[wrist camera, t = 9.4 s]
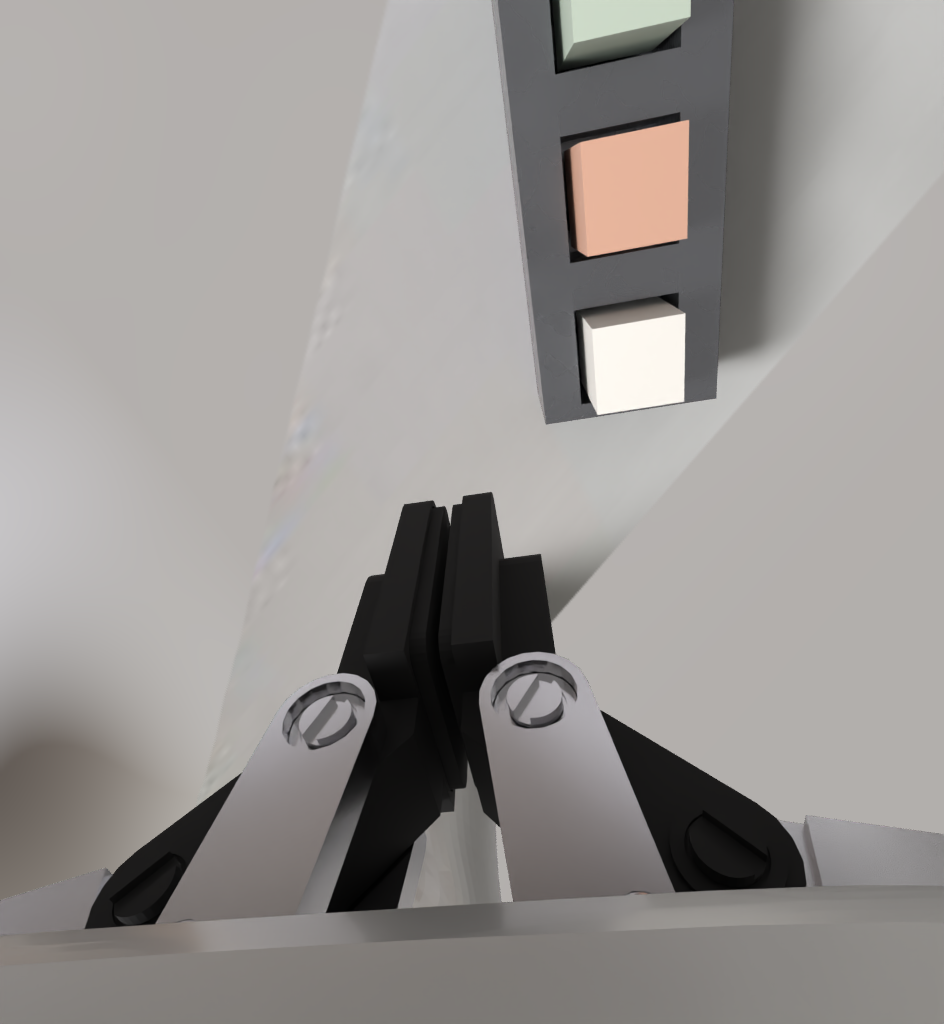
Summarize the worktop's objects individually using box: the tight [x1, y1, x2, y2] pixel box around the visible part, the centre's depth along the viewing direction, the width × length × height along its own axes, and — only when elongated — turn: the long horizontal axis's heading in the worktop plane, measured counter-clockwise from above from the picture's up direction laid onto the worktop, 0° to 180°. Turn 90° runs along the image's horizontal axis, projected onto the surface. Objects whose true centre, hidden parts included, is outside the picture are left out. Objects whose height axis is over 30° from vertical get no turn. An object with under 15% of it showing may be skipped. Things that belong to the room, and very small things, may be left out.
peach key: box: [564, 120, 689, 257], centre depth 28 cm, size 5×5×6 cm
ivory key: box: [576, 296, 685, 415], centre depth 32 cm, size 5×5×6 cm
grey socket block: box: [492, 0, 734, 424], centre depth 30 cm, size 23×10×6 cm, turn 10°
